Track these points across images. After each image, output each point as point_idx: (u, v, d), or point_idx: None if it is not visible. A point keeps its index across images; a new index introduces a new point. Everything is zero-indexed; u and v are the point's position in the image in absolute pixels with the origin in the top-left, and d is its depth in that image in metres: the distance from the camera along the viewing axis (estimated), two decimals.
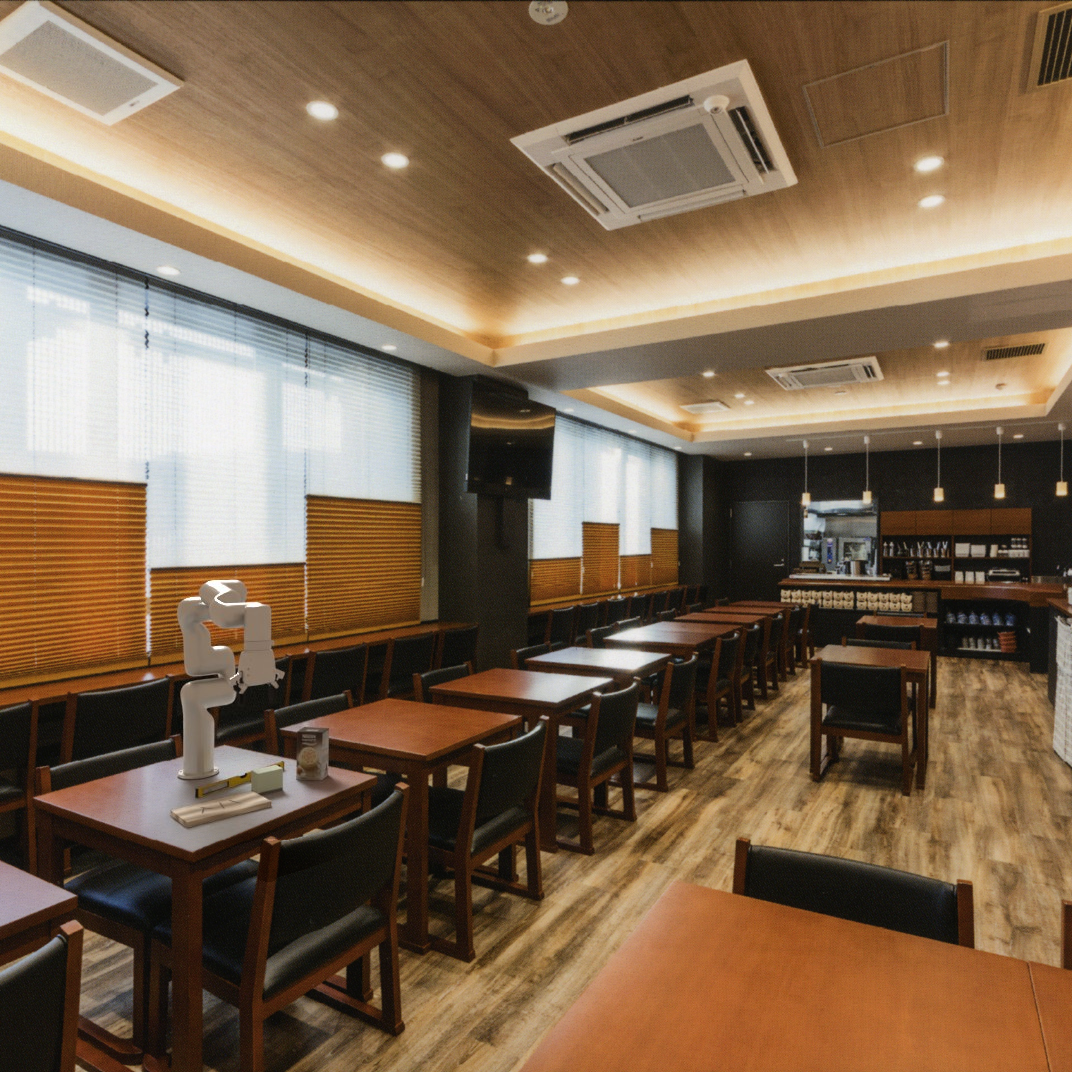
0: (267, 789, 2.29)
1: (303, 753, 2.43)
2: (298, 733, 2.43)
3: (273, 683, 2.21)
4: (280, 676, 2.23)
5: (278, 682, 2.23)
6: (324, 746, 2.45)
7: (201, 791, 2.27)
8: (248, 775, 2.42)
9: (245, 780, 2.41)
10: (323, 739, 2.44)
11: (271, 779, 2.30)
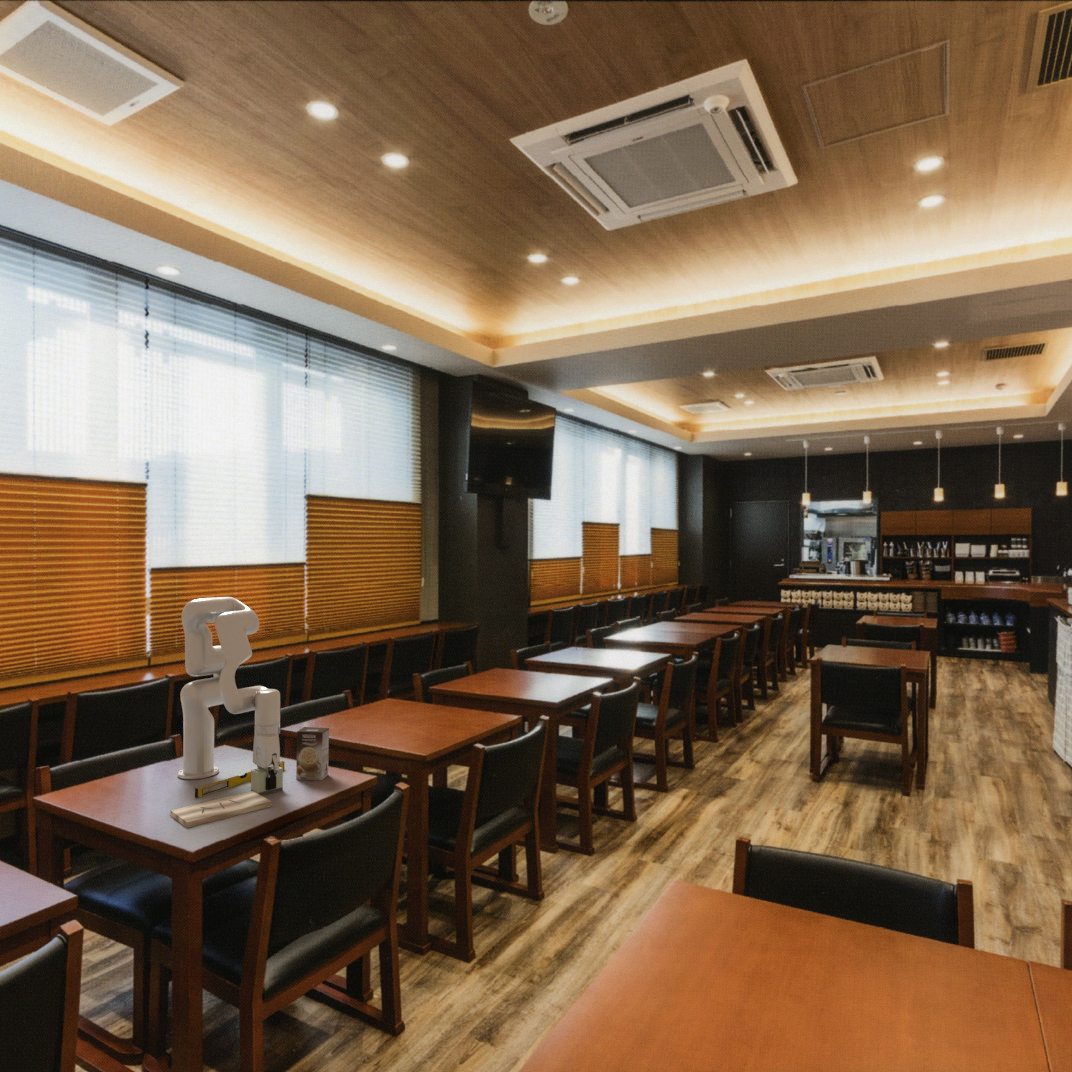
0: None
1: (303, 753, 2.43)
2: (298, 733, 2.43)
3: None
4: None
5: None
6: (324, 746, 2.45)
7: (201, 791, 2.27)
8: (248, 775, 2.42)
9: (245, 780, 2.41)
10: (323, 739, 2.44)
11: None
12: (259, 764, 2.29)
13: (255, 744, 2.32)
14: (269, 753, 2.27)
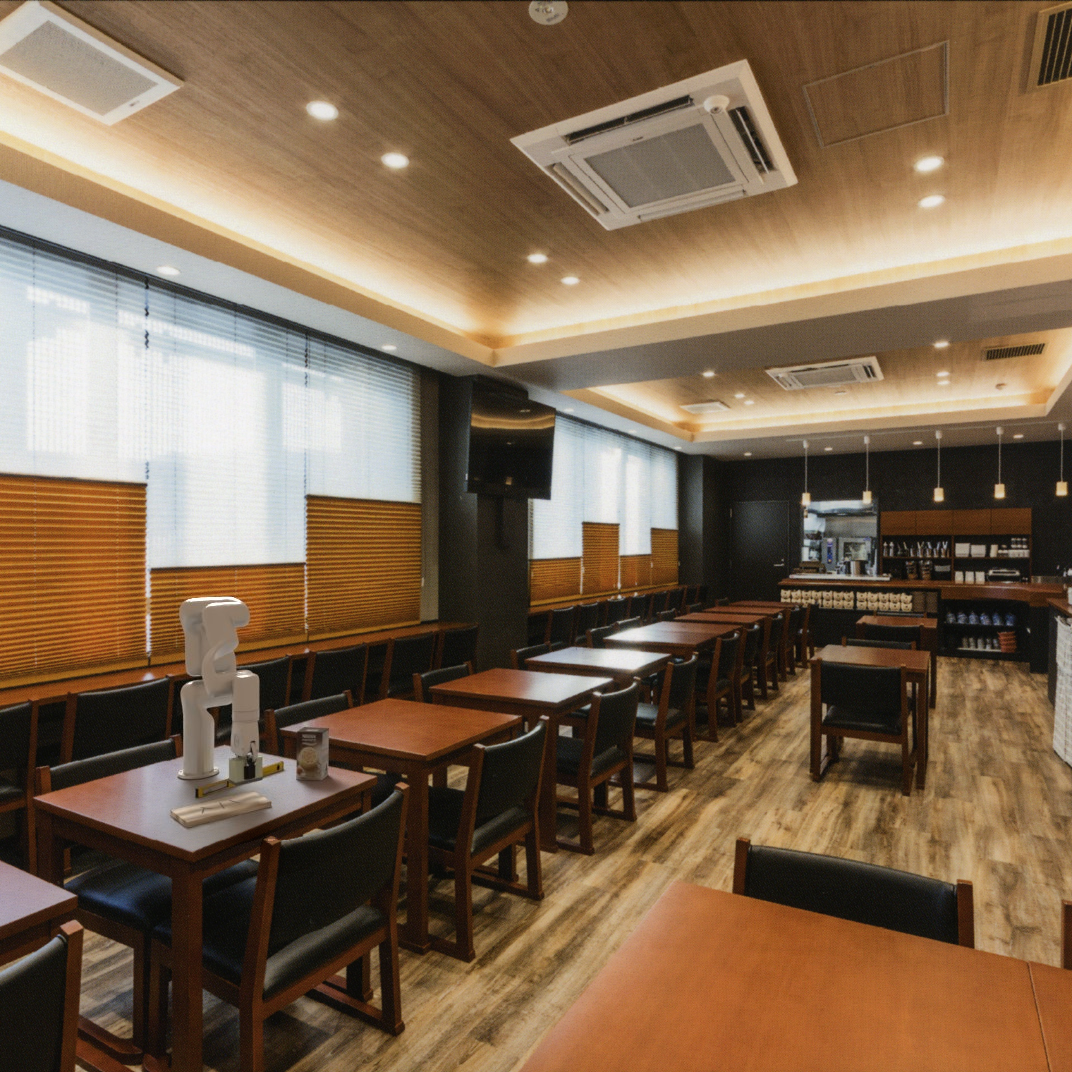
0: None
1: (303, 753, 2.43)
2: (298, 733, 2.43)
3: None
4: None
5: None
6: (324, 746, 2.45)
7: (201, 791, 2.27)
8: None
9: None
10: (323, 739, 2.44)
11: None
12: (237, 752, 2.17)
13: (233, 731, 2.20)
14: (247, 740, 2.15)
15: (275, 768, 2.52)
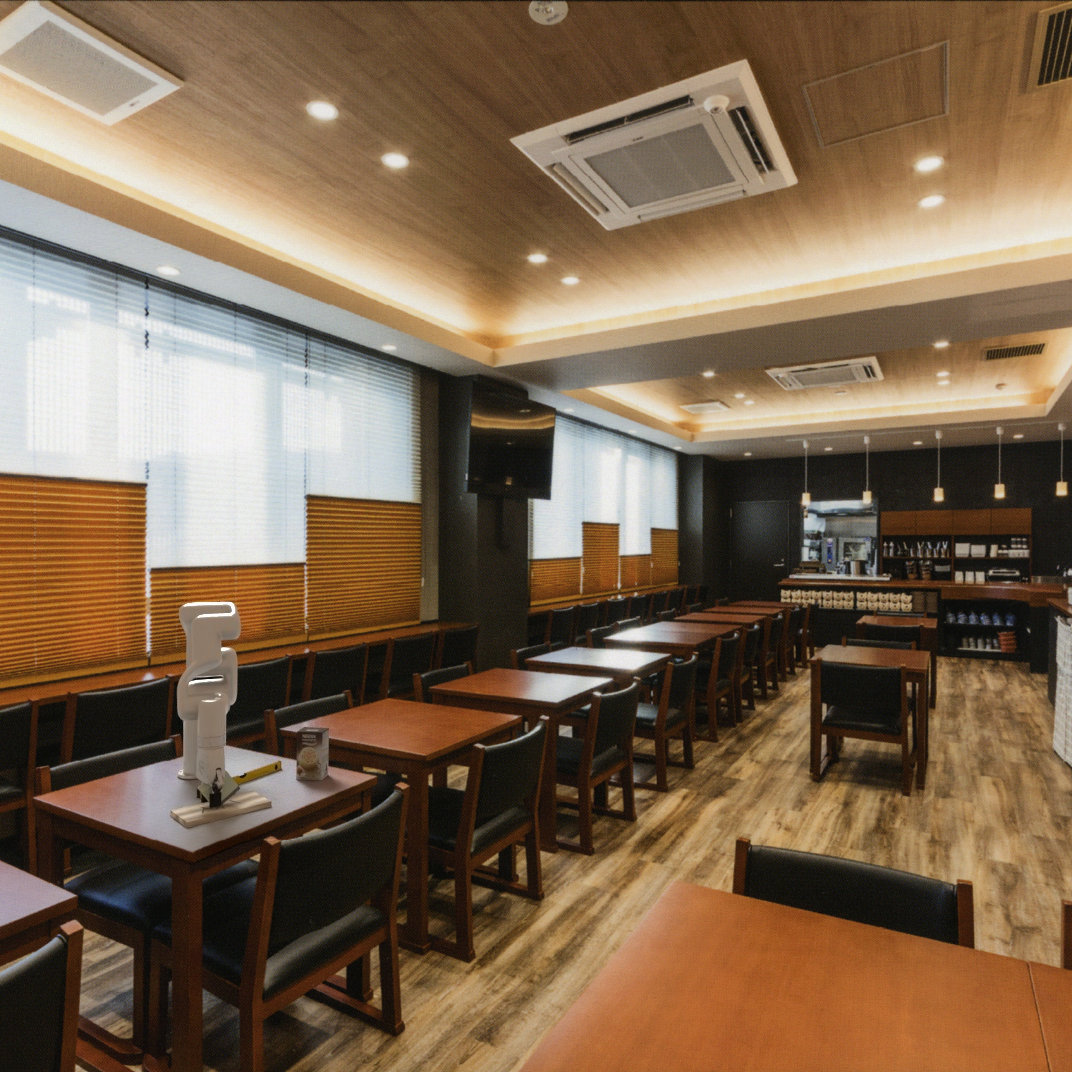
0: (223, 797, 2.13)
1: (303, 753, 2.43)
2: (298, 733, 2.43)
3: None
4: None
5: None
6: (324, 746, 2.45)
7: None
8: (247, 775, 2.42)
9: (244, 780, 2.41)
10: (323, 739, 2.44)
11: None
12: (202, 779, 2.10)
13: (198, 757, 2.13)
14: (213, 767, 2.08)
15: (273, 768, 2.52)
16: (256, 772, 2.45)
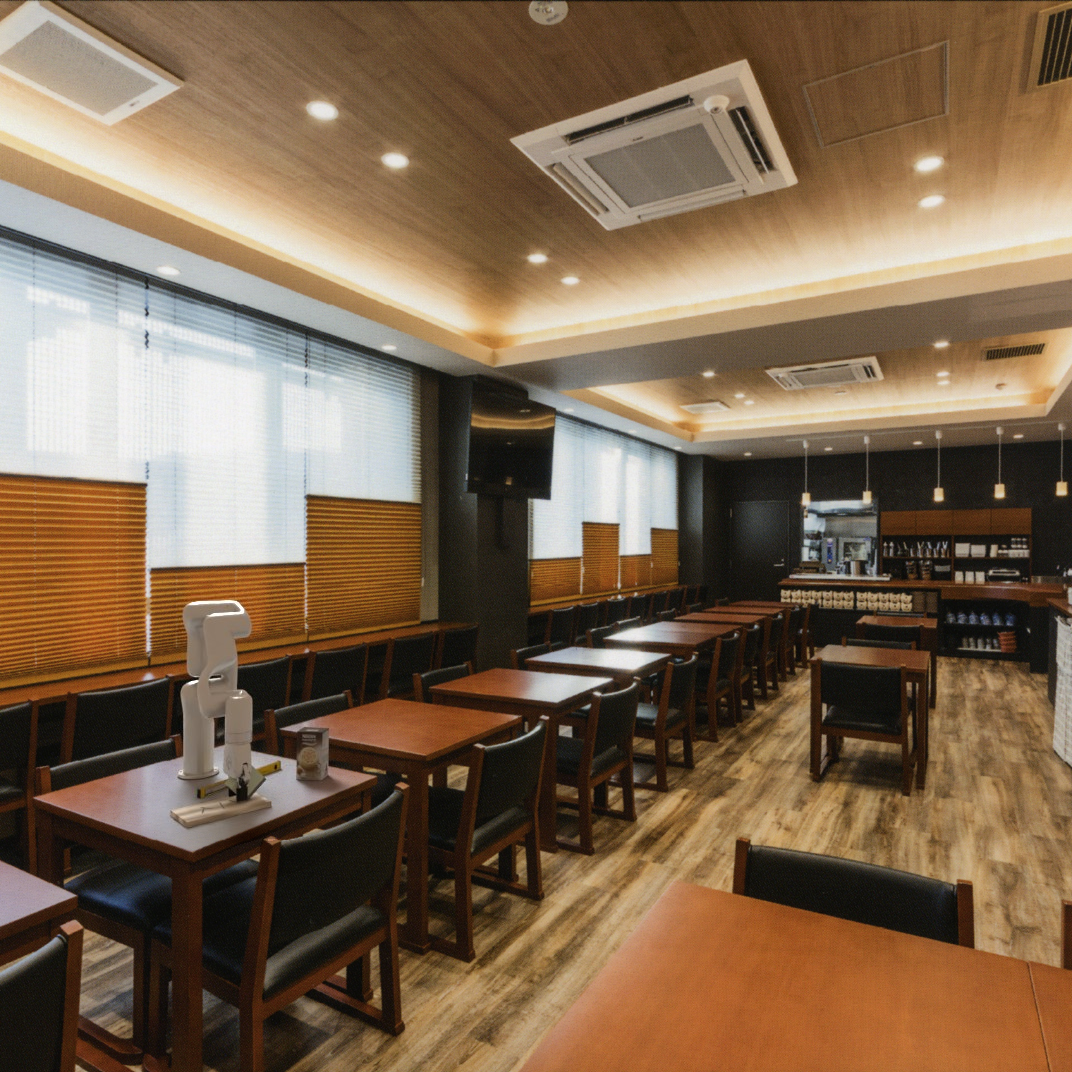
0: (251, 790, 2.19)
1: (303, 753, 2.43)
2: (298, 733, 2.43)
3: None
4: None
5: None
6: (324, 746, 2.45)
7: (203, 792, 2.26)
8: None
9: None
10: (323, 739, 2.44)
11: None
12: (229, 774, 2.16)
13: (225, 753, 2.18)
14: (239, 762, 2.14)
15: (273, 768, 2.52)
16: None
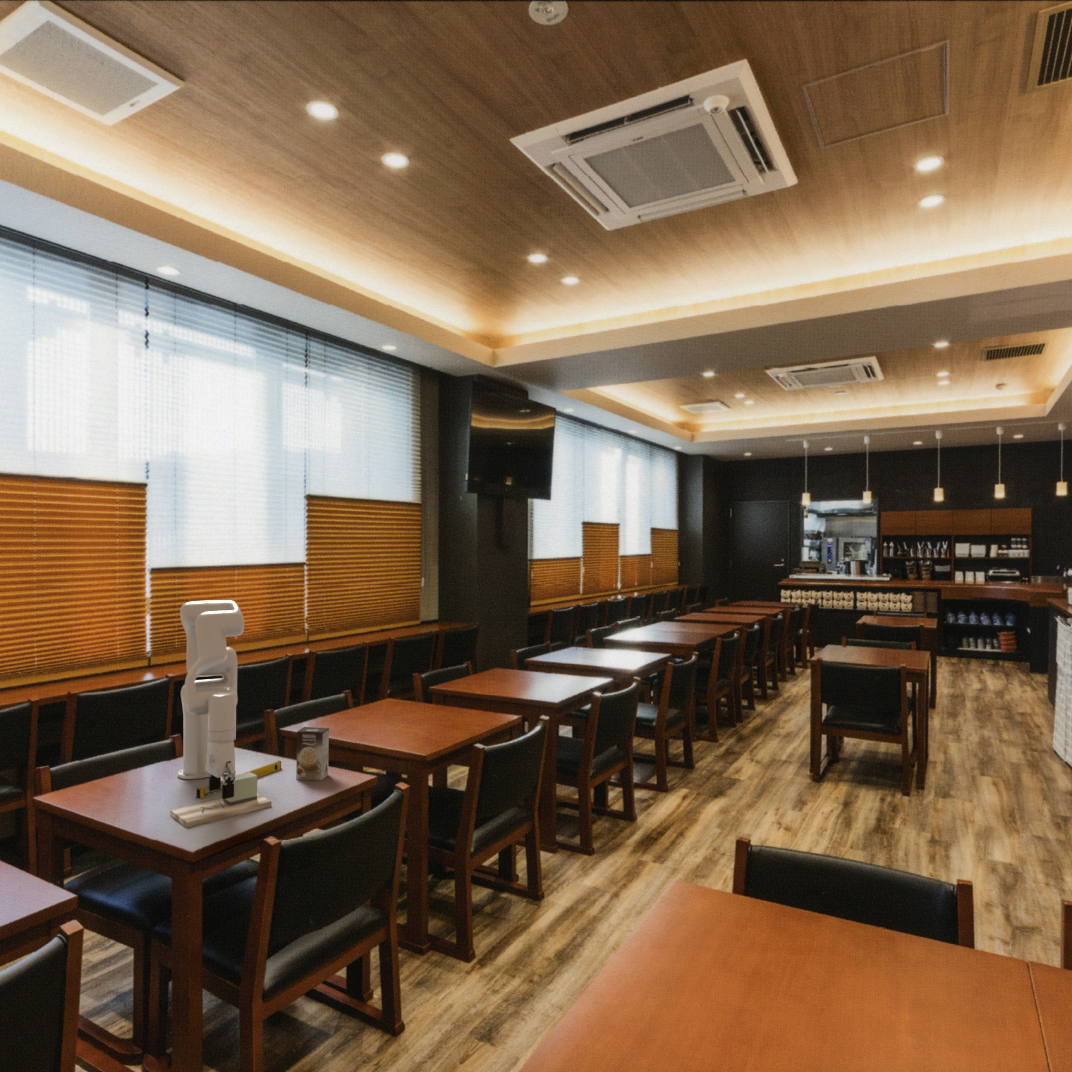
0: (240, 798, 2.16)
1: (303, 753, 2.43)
2: (298, 733, 2.43)
3: None
4: None
5: None
6: (324, 746, 2.45)
7: (203, 791, 2.26)
8: None
9: None
10: (323, 739, 2.44)
11: (244, 787, 2.17)
12: (212, 773, 2.12)
13: (208, 751, 2.15)
14: (223, 761, 2.10)
15: (273, 768, 2.52)
16: (256, 772, 2.45)
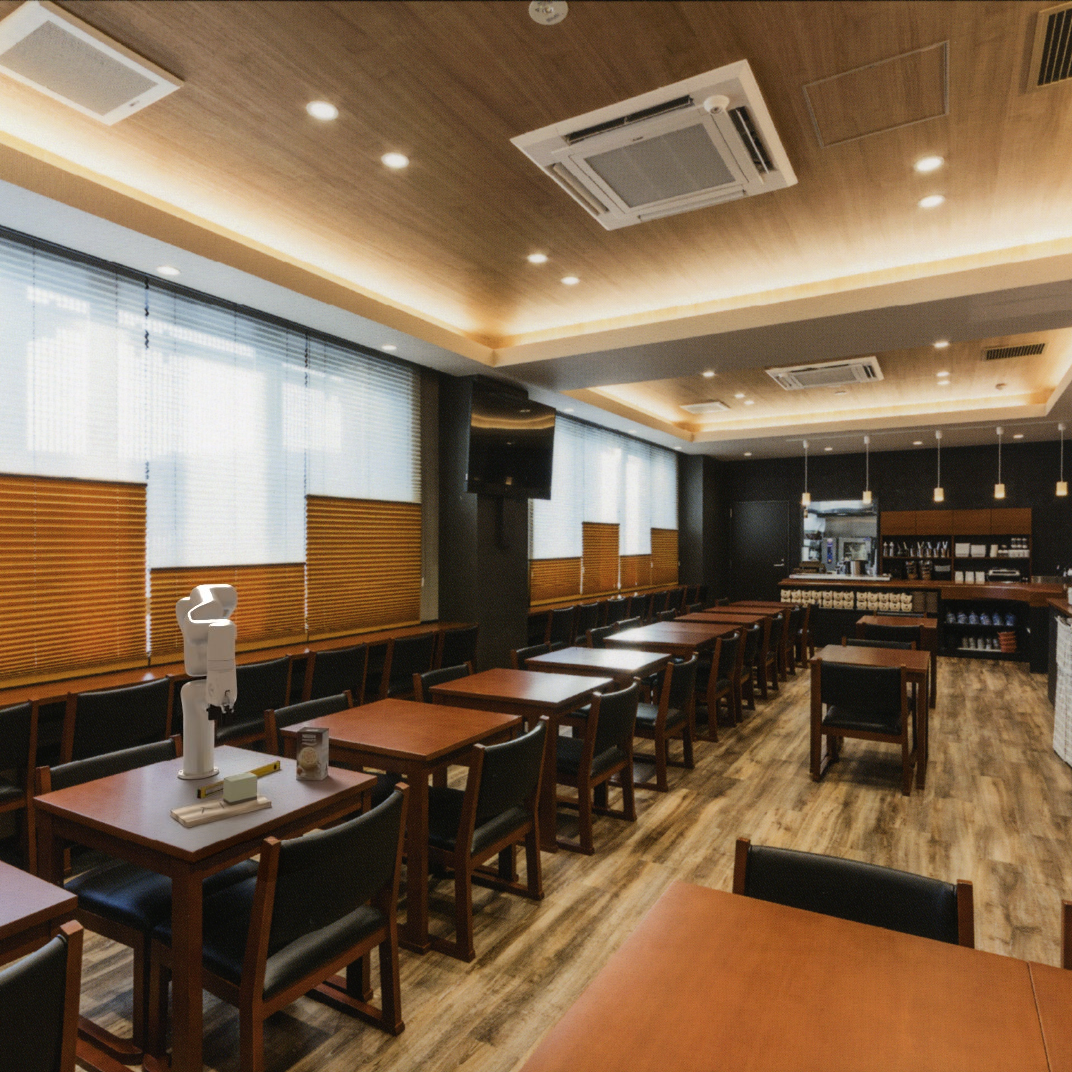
0: (240, 798, 2.16)
1: (303, 753, 2.43)
2: (298, 733, 2.43)
3: None
4: None
5: None
6: (324, 746, 2.45)
7: (203, 792, 2.26)
8: None
9: None
10: (323, 739, 2.44)
11: (244, 787, 2.17)
12: (211, 701, 2.14)
13: (208, 681, 2.17)
14: (222, 689, 2.12)
15: (272, 768, 2.52)
16: (255, 772, 2.45)
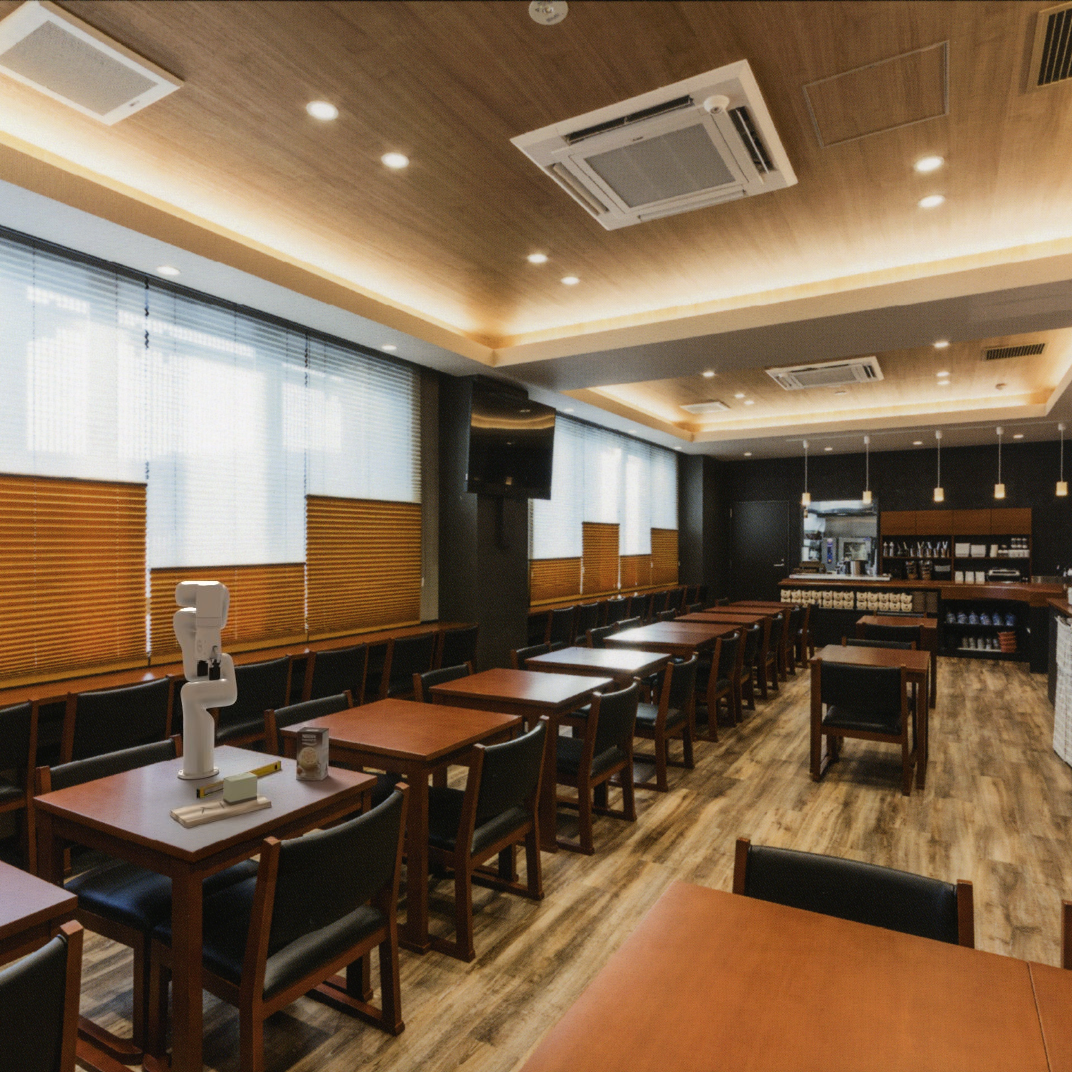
0: (240, 798, 2.16)
1: (303, 753, 2.43)
2: (298, 733, 2.43)
3: None
4: None
5: None
6: (324, 746, 2.45)
7: (202, 791, 2.26)
8: None
9: None
10: (323, 739, 2.44)
11: (244, 787, 2.17)
12: (200, 657, 2.26)
13: (196, 638, 2.28)
14: (209, 645, 2.24)
15: (273, 768, 2.52)
16: (255, 772, 2.45)
